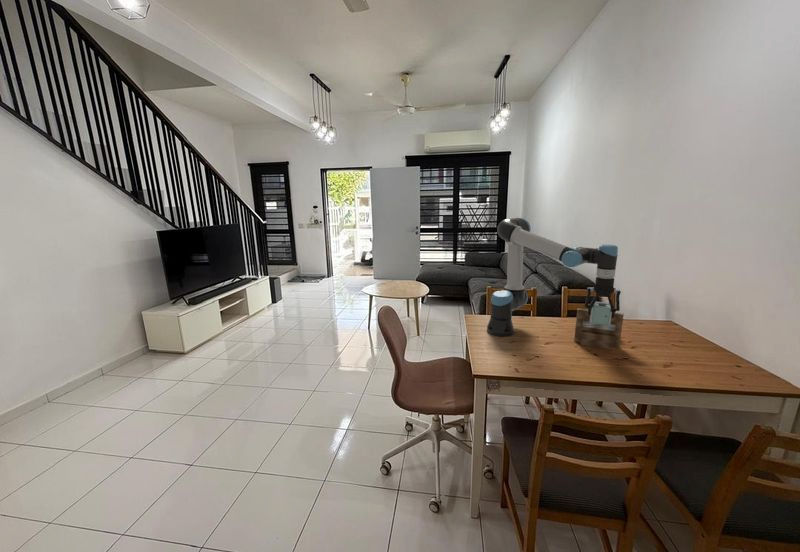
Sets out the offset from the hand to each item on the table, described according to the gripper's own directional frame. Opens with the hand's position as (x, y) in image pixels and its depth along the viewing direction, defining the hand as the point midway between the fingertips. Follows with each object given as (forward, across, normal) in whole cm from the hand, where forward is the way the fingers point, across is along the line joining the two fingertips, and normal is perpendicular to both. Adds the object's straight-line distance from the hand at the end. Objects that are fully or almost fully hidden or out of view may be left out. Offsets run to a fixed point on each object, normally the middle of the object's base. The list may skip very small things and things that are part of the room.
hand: (599, 322), depth 157 cm
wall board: (+14, 0, +6) cm, 16 cm away
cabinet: (0, 0, +1) cm, 1 cm away
